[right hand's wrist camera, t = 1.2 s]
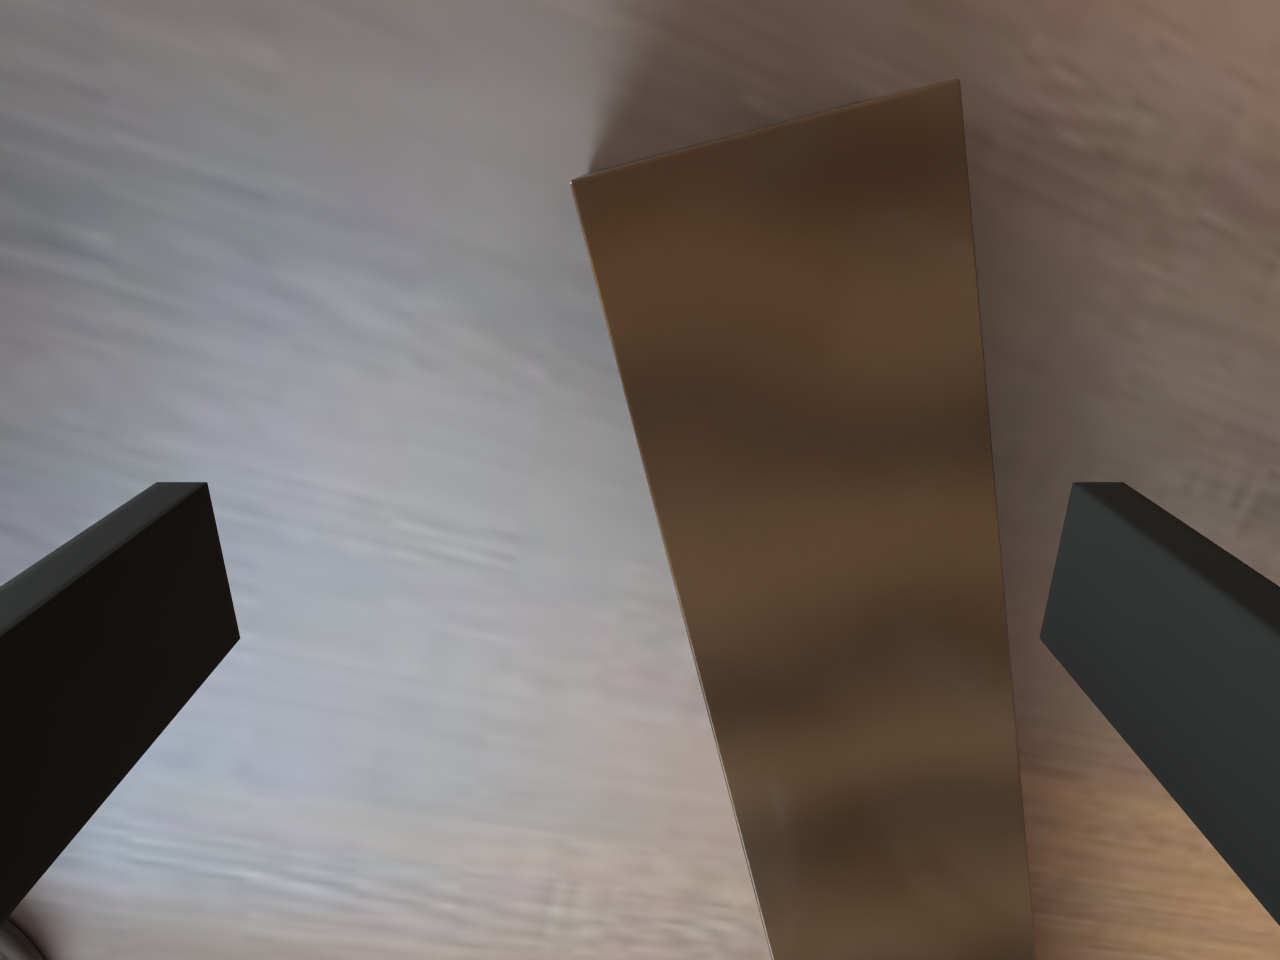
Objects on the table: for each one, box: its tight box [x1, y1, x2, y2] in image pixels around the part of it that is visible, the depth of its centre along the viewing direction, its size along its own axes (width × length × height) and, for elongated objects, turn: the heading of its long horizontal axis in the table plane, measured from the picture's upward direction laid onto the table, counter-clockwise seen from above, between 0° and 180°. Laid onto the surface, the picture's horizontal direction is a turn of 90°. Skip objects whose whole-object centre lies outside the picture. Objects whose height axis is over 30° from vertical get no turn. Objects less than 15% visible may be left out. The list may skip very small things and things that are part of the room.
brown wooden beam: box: [570, 79, 1036, 960], centre depth 33 cm, size 60×9×8 cm, turn 14°
